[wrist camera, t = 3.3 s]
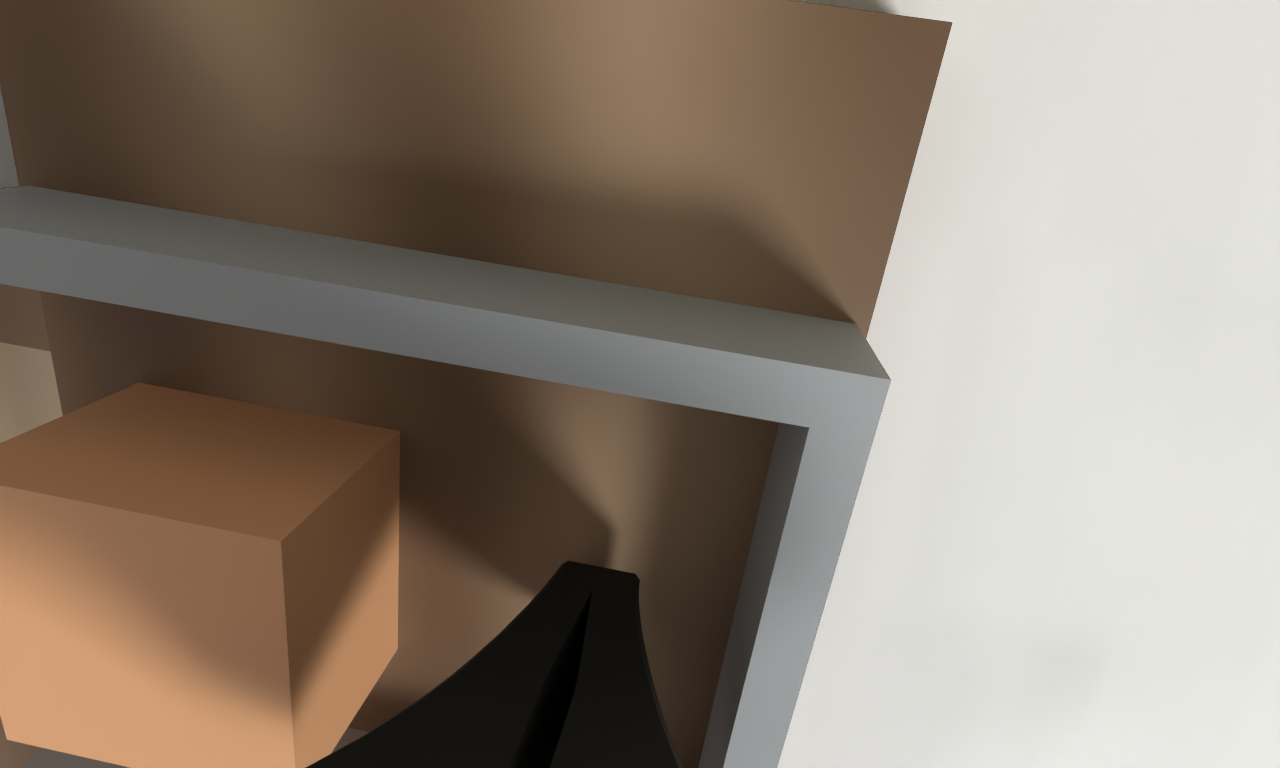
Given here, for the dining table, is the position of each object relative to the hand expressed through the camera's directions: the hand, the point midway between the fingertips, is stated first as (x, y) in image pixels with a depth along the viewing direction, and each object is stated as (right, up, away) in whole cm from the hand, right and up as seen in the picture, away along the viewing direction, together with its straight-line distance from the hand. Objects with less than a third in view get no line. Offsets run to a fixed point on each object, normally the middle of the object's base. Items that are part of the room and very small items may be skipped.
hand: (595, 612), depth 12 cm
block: (-6, +1, +1) cm, 7 cm away
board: (-6, +2, +3) cm, 7 cm away
